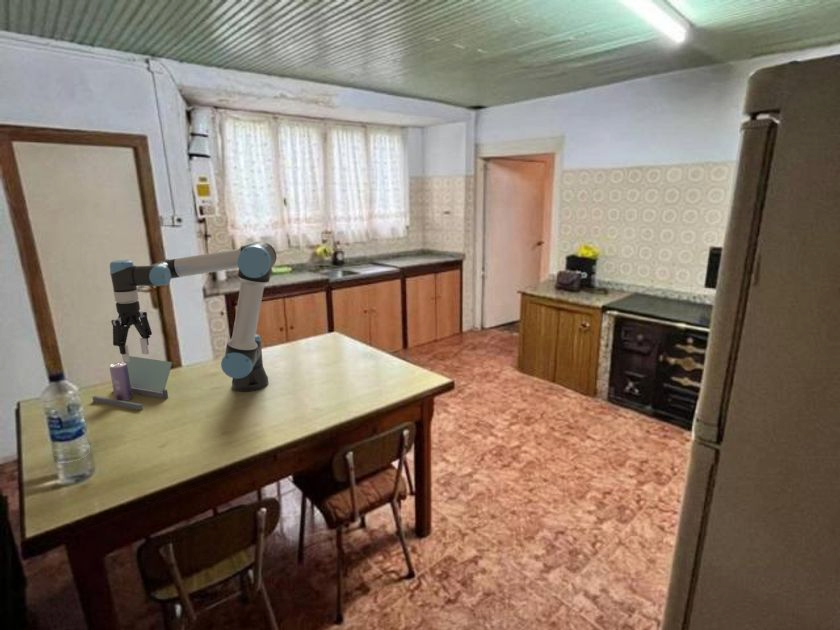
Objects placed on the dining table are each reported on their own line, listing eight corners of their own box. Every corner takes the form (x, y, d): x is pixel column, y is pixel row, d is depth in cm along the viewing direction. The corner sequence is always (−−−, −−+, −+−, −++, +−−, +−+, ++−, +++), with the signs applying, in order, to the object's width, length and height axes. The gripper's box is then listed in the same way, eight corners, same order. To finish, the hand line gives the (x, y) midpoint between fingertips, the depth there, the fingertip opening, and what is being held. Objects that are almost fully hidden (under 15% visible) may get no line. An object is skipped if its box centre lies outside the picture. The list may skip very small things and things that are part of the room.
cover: (162, 392, 186) (164, 392, 187) (170, 361, 189) (172, 362, 190) (116, 384, 193) (118, 384, 194) (125, 355, 196) (127, 355, 197)
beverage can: (135, 395, 189) (130, 362, 185) (125, 402, 184) (119, 367, 179) (122, 395, 190) (116, 361, 186) (111, 401, 184) (105, 366, 180)
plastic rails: (168, 397, 188) (167, 389, 187) (143, 411, 177) (142, 402, 176) (117, 389, 195) (116, 381, 194) (90, 401, 184) (89, 393, 183)
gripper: (142, 294, 183) (150, 348, 189) (93, 306, 164) (104, 365, 170) (157, 296, 181) (165, 350, 187) (110, 308, 162) (120, 368, 168)
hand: (136, 357), depth 179 cm, fingers open, 8 cm apart
